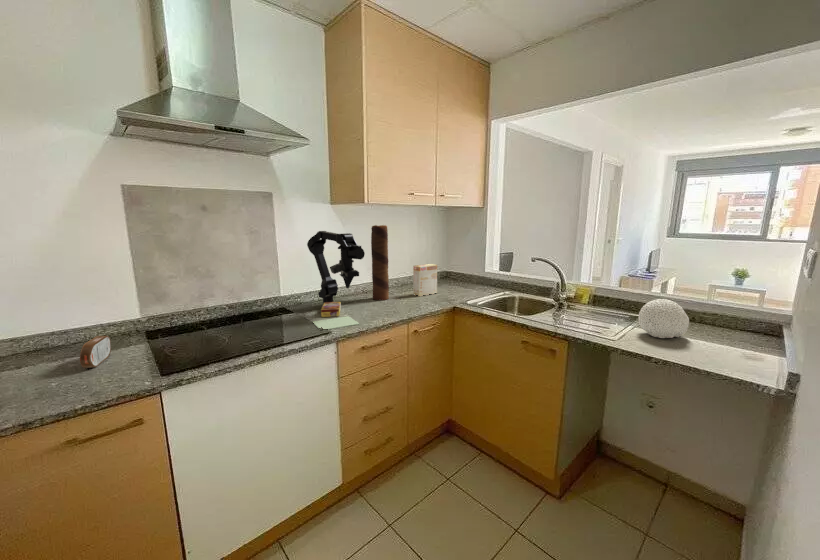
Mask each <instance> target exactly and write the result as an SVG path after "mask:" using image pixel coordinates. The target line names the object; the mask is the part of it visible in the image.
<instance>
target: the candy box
mask: <svg viewBox="0 0 820 560" xmlns="http://www.w3.org/2000/svg"><path fill="white" fill-rule="evenodd" d="M341 302H342V301H333V302H324V305H323V304H322V305H323V307H321V309H320V314H321V315H320V316H321V318H332V317H334V318H337V317H340V313H341V309H342V303H341Z"/></svg>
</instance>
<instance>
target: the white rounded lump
mask: <svg viewBox="0 0 820 560" xmlns="http://www.w3.org/2000/svg"><path fill="white" fill-rule="evenodd" d="M637 321H638V323H637V324H639V326H640V327H641V329H642V330H643V331H644V332H646V334H648V335H650V336H652V337H655V338H660V339H665V338H666V339H667V338H674V337H675V338H679V337H680V336H683V335H685V333H687V331H688V330H689V326H690V325H689V324H690V318H689V316H688V315H687V313H686V311H685V310H684V308H683V307H682V306H681V305H679V303H677V302H675V301H672V300H671V299H667V298H659V299H658V298H657V299H654V300H653V299H652V300H649V301H648V302H646V303H645V304H644V305H643V306H642V307H641V308H640V311H639V312H638V320H637Z"/></svg>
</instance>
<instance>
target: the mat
mask: <svg viewBox="0 0 820 560" xmlns="http://www.w3.org/2000/svg"><path fill="white" fill-rule="evenodd" d="M312 322H313V323H314V324H313V323H312V324H313V325H314V326H315V327H317V329H319V328H321V327H322V328H323V329H328V330H327V331H329V330H334V329H340V328H345V327H346V328H347V327H352V326H359V325H360V323H359V322H358V321H357V320H355V319H354V318H352V317H351V316H349V315H347V316H339V317H334V318H327V319H321V320H315V321H312Z"/></svg>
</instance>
